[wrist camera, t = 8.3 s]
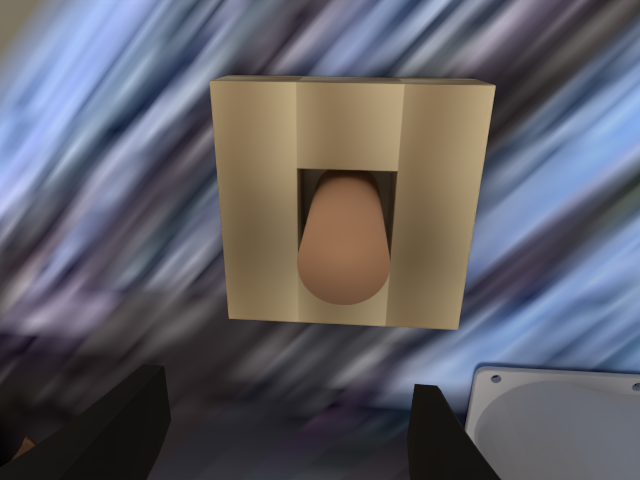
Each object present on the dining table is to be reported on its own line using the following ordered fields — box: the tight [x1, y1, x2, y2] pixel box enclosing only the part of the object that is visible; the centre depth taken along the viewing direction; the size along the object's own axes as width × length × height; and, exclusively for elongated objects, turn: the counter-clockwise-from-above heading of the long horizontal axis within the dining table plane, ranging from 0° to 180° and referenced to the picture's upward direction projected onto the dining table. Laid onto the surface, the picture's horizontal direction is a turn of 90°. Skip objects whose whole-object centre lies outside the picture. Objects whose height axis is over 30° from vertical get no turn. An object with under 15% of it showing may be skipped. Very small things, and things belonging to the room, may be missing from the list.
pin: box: [297, 169, 390, 305], centre depth 17 cm, size 3×3×7 cm
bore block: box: [210, 75, 496, 330], centre depth 19 cm, size 10×10×3 cm
